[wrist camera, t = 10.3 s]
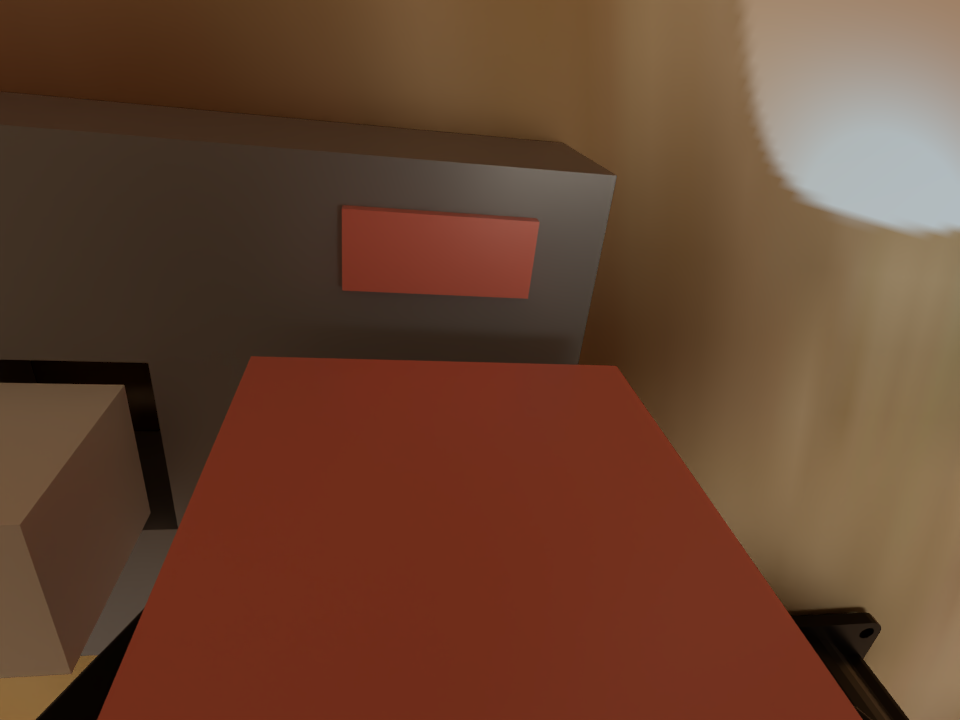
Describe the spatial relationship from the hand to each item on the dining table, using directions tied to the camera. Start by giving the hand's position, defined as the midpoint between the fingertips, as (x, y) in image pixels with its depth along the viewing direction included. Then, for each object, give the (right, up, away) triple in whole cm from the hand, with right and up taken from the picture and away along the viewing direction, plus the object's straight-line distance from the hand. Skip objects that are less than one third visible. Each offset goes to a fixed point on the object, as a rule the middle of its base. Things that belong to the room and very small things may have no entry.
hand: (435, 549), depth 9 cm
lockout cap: (0, 0, +1) cm, 1 cm away
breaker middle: (-6, +1, +1) cm, 6 cm away
